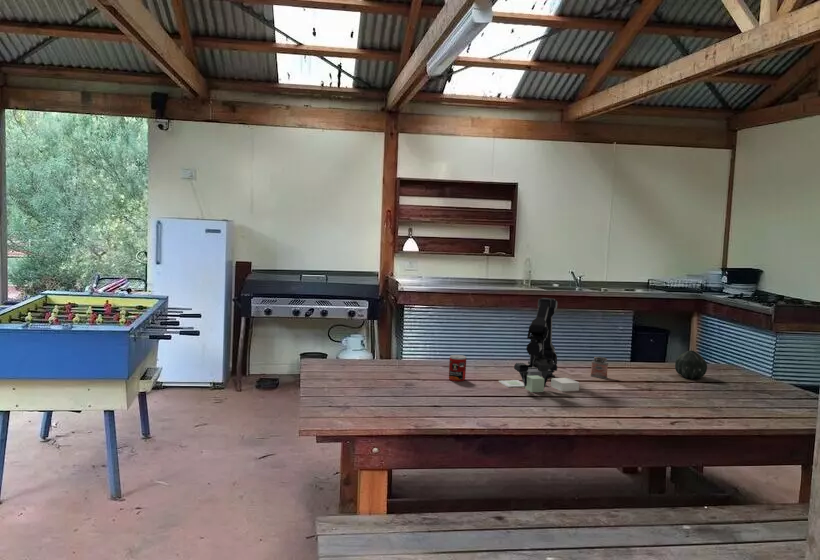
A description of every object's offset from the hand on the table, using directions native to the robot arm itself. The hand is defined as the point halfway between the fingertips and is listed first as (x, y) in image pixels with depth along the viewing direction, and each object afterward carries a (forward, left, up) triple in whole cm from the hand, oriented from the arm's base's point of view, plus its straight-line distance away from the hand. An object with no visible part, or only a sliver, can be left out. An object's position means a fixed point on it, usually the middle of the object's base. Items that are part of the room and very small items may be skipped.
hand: (534, 385), depth 286 cm
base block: (-1, +16, -2) cm, 16 cm away
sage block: (0, 0, -2) cm, 2 cm away
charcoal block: (-13, +6, -2) cm, 14 cm away
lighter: (-19, +46, -2) cm, 50 cm away
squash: (-12, +95, -2) cm, 96 cm away
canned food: (-23, -28, -2) cm, 36 cm away
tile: (-11, -5, -2) cm, 12 cm away
